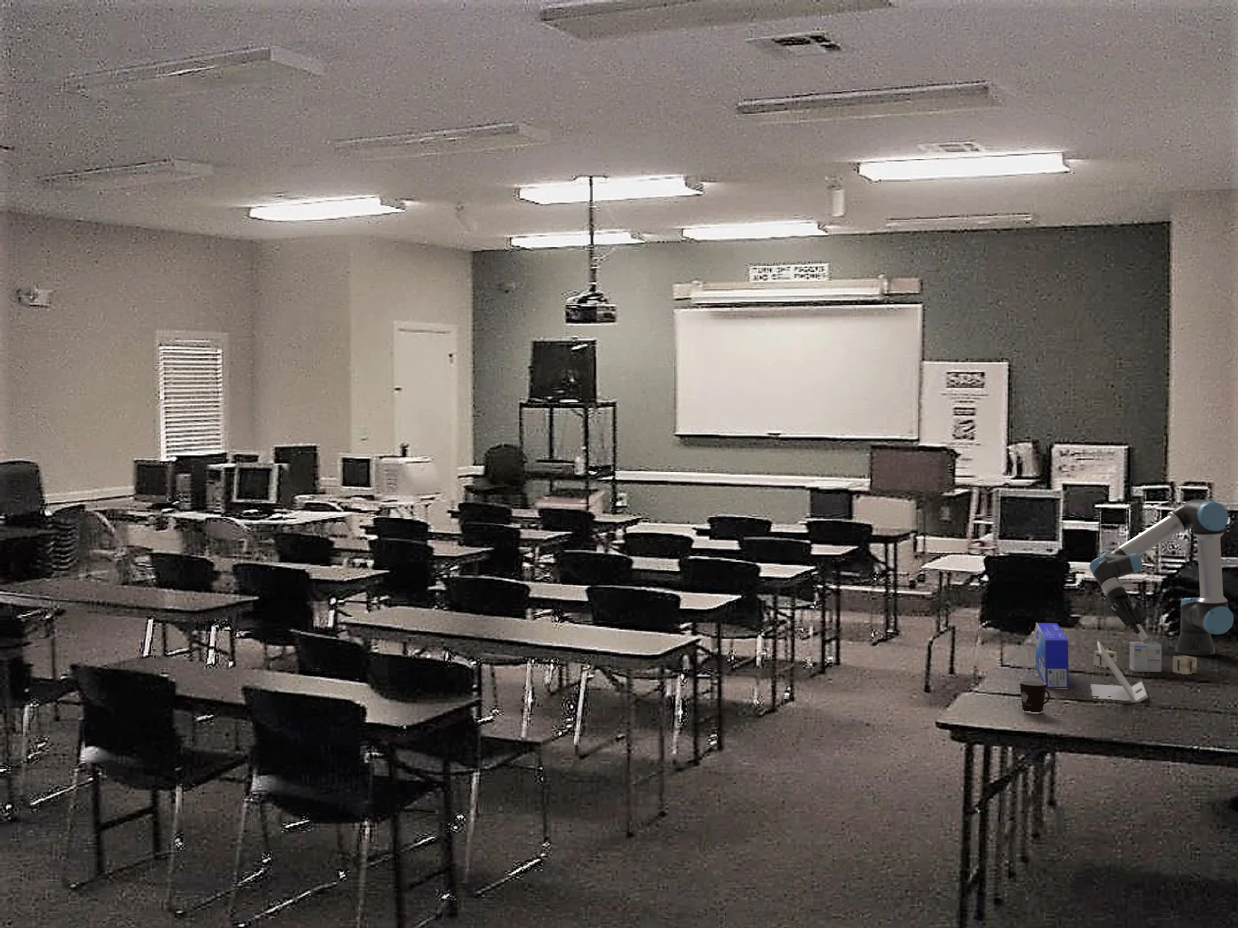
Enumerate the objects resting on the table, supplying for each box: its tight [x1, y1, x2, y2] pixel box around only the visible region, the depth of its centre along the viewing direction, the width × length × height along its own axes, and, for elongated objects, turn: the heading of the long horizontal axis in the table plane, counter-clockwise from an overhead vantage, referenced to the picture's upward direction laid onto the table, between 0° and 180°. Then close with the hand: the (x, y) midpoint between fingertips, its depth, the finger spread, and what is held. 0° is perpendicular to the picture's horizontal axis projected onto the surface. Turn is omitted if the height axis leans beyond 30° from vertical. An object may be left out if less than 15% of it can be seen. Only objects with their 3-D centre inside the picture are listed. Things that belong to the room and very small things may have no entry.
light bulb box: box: [1129, 641, 1163, 673], centre depth 524 cm, size 11×7×11 cm, turn 84°
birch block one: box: [1172, 655, 1198, 675], centre depth 520 cm, size 6×6×6 cm
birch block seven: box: [1093, 649, 1117, 669], centre depth 532 cm, size 6×6×6 cm
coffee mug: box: [1019, 679, 1051, 712], centre depth 449 cm, size 12×9×10 cm
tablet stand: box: [1090, 640, 1149, 703], centre depth 480 cm, size 18×25×17 cm
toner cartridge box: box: [1035, 622, 1069, 689], centre depth 507 cm, size 39×8×18 cm, turn 168°
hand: (1145, 639), depth 524 cm, fingers closed
